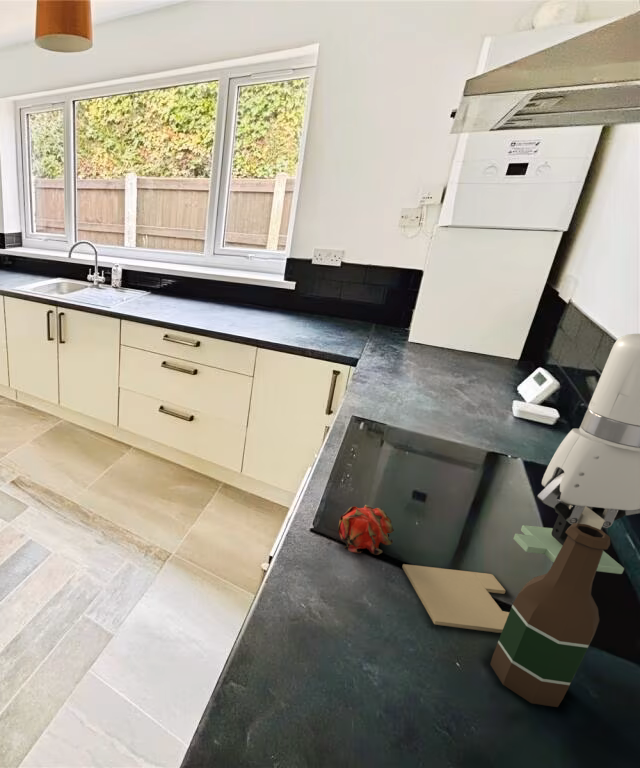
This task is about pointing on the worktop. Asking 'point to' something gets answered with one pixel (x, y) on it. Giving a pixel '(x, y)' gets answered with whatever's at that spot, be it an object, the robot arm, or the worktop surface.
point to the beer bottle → (552, 622)
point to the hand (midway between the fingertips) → (571, 542)
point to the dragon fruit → (365, 529)
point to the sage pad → (547, 544)
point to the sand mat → (458, 597)
